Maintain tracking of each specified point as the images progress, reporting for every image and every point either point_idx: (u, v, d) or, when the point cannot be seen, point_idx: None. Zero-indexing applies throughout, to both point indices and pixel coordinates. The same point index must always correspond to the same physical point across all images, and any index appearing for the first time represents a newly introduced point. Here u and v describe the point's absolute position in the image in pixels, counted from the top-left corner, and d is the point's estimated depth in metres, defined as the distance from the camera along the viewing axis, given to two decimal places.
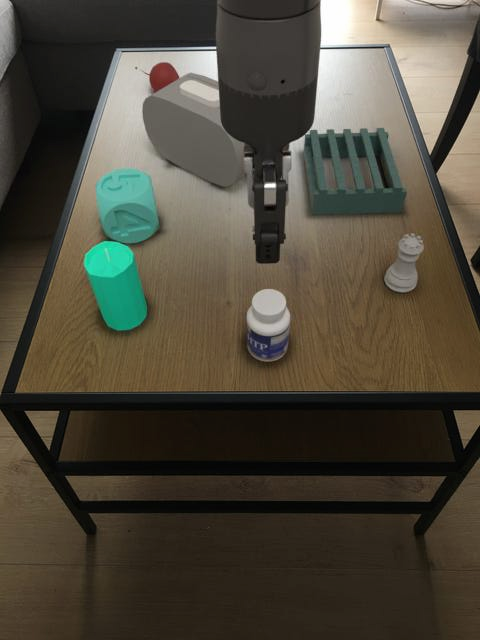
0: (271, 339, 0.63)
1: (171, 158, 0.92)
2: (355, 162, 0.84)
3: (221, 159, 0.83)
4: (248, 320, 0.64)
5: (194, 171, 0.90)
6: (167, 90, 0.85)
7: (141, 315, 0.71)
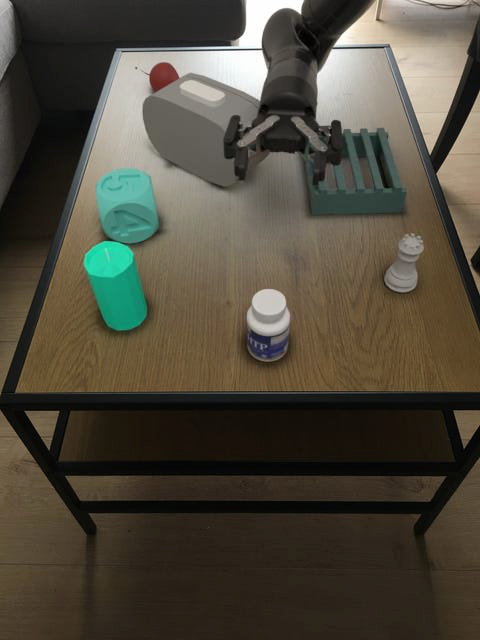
0: (271, 339, 0.63)
1: (171, 158, 0.92)
2: (355, 162, 0.84)
3: (221, 159, 0.83)
4: (248, 320, 0.64)
5: (194, 171, 0.90)
6: (167, 90, 0.85)
7: (141, 315, 0.71)
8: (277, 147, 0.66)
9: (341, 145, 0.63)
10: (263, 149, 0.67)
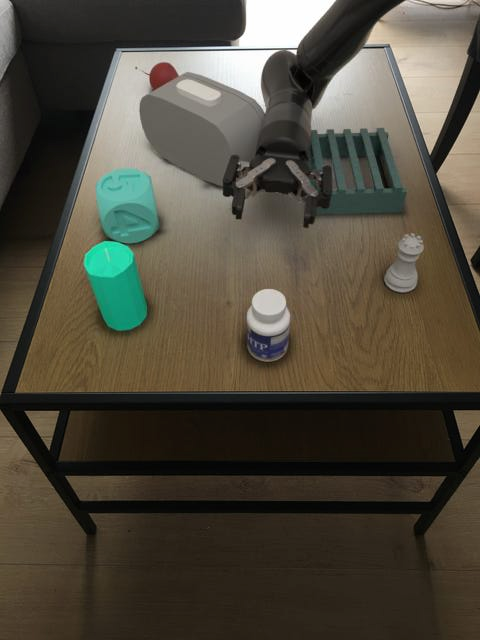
0: (271, 339, 0.63)
1: (168, 157, 0.92)
2: (355, 162, 0.84)
3: (217, 158, 0.84)
4: (248, 320, 0.64)
5: (190, 170, 0.90)
6: (164, 89, 0.86)
7: (141, 315, 0.71)
8: (272, 188, 0.71)
9: (331, 191, 0.69)
10: (259, 188, 0.72)
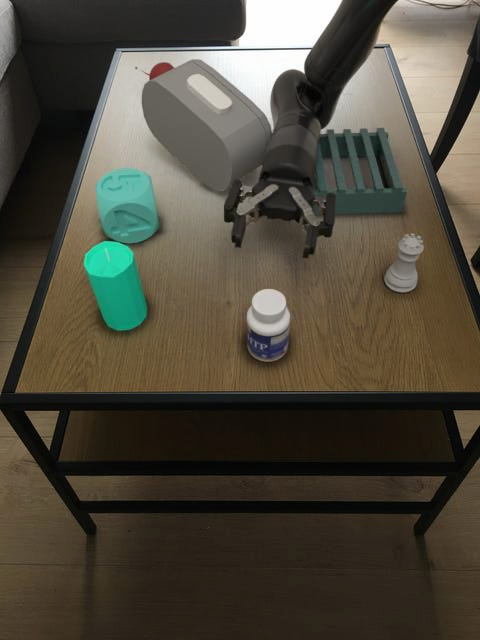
0: (271, 339, 0.63)
1: (163, 143, 0.89)
2: (355, 162, 0.84)
3: (216, 167, 0.83)
4: (248, 320, 0.64)
5: (185, 164, 0.88)
6: (173, 79, 0.81)
7: (141, 315, 0.71)
8: (274, 215, 0.70)
9: (333, 221, 0.68)
10: (261, 214, 0.71)
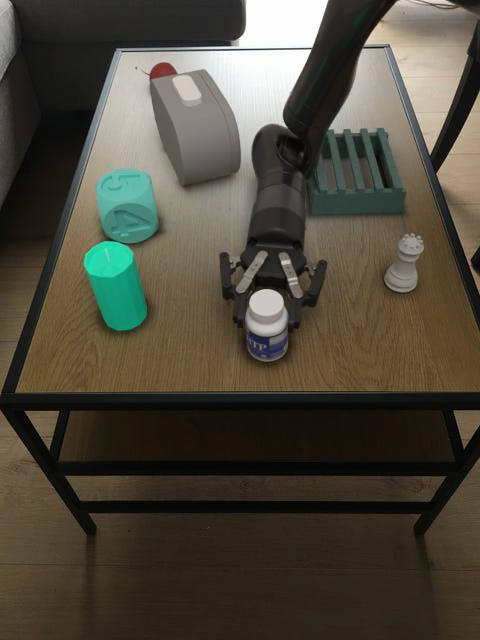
0: (269, 340, 0.63)
1: (163, 144, 0.95)
2: (355, 162, 0.84)
3: (178, 158, 0.84)
4: (246, 321, 0.63)
5: (171, 162, 0.92)
6: (167, 79, 0.88)
7: (141, 315, 0.71)
8: (265, 283, 0.67)
9: (316, 291, 0.64)
10: None
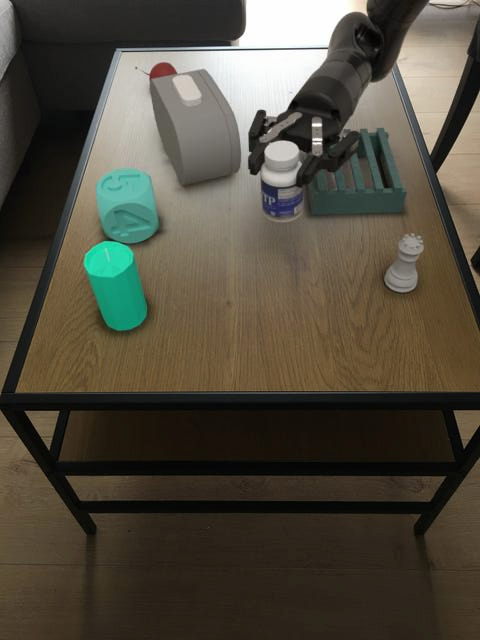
0: (278, 192, 0.64)
1: (163, 144, 0.95)
2: (355, 162, 0.84)
3: (178, 157, 0.84)
4: (261, 169, 0.64)
5: (171, 162, 0.92)
6: (167, 78, 0.88)
7: (141, 315, 0.71)
8: None
9: (336, 154, 0.63)
10: None
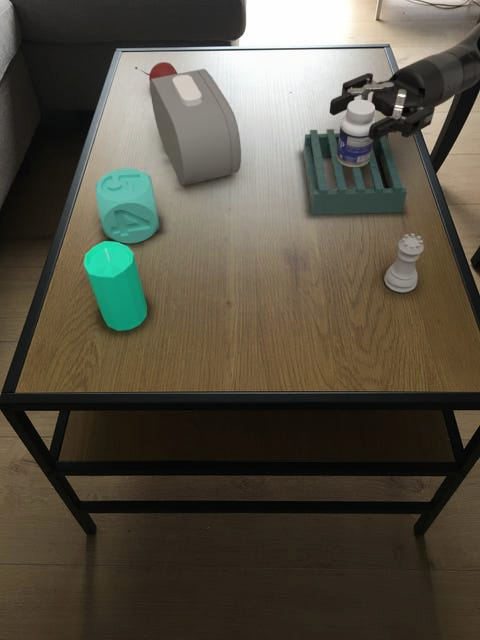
0: (347, 138, 0.80)
1: (163, 144, 0.95)
2: None
3: (178, 157, 0.84)
4: (343, 118, 0.81)
5: (171, 162, 0.92)
6: (167, 78, 0.88)
7: (141, 315, 0.71)
8: (377, 106, 0.82)
9: (411, 121, 0.76)
10: None
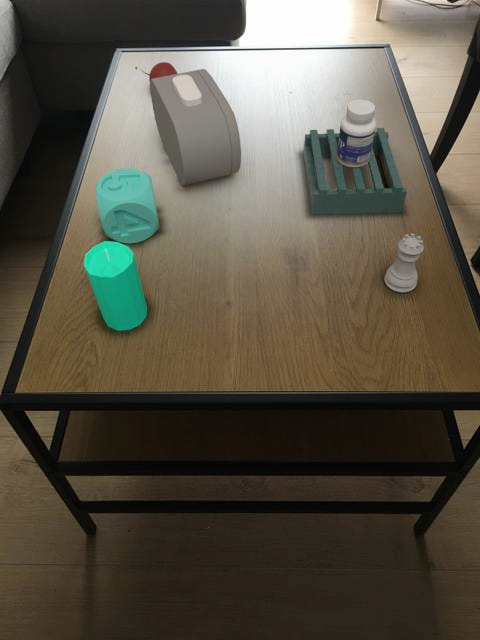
0: (347, 138, 0.80)
1: (163, 144, 0.95)
2: None
3: (178, 157, 0.84)
4: (343, 118, 0.81)
5: (171, 162, 0.92)
6: (167, 78, 0.88)
7: (141, 315, 0.71)
8: None
9: None
10: None
